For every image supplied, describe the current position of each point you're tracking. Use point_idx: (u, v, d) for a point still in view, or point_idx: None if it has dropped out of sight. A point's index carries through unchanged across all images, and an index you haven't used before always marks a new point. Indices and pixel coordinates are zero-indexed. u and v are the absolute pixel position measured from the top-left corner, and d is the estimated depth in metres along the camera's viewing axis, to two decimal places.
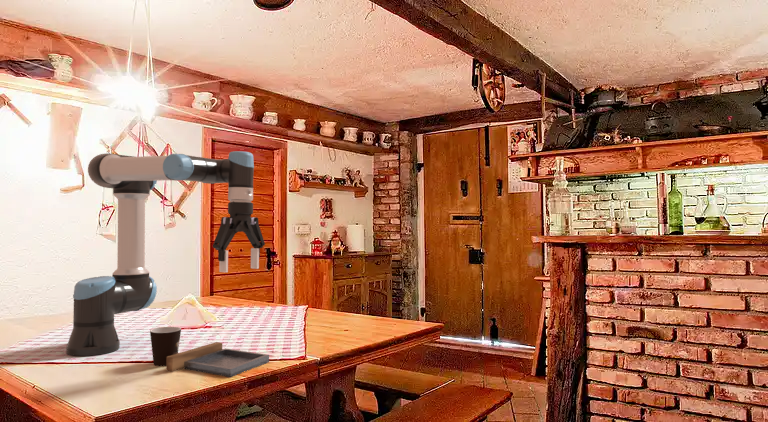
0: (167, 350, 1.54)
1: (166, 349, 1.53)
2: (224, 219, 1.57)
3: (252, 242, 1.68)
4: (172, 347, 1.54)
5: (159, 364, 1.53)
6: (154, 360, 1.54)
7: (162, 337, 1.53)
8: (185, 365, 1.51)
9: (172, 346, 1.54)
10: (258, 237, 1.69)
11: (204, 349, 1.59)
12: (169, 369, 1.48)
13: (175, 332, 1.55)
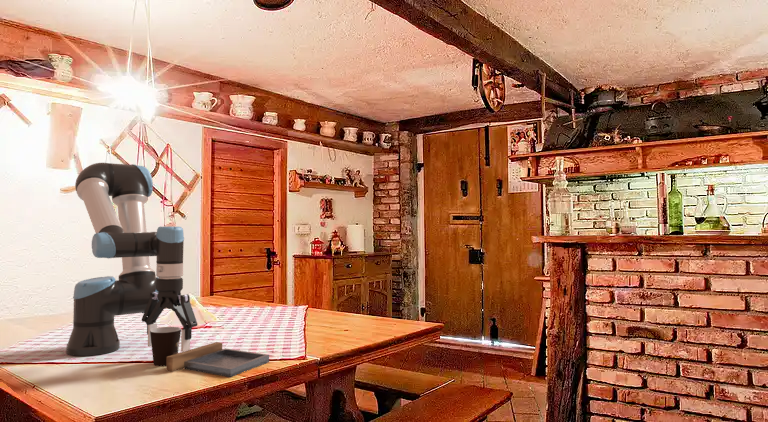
0: (167, 350, 1.54)
1: (166, 349, 1.53)
2: None
3: None
4: (172, 347, 1.54)
5: (159, 364, 1.53)
6: (154, 360, 1.54)
7: (162, 336, 1.53)
8: (185, 365, 1.51)
9: (172, 346, 1.54)
10: None
11: (204, 349, 1.59)
12: (169, 369, 1.48)
13: (175, 332, 1.55)
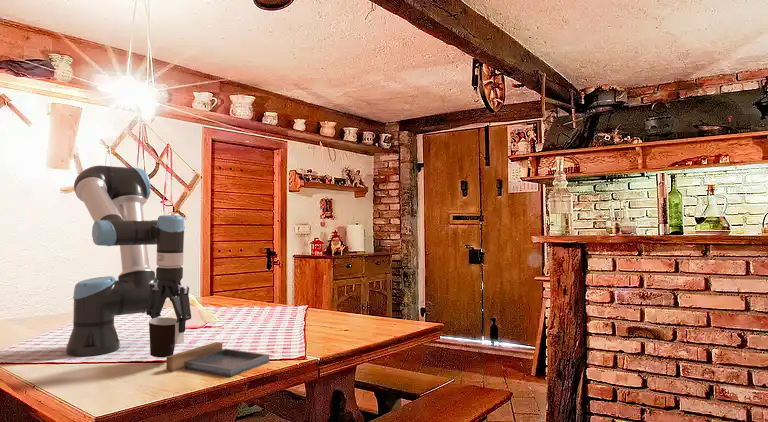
0: (165, 342, 1.54)
1: (164, 341, 1.54)
2: None
3: None
4: (169, 339, 1.55)
5: (156, 355, 1.55)
6: (151, 351, 1.55)
7: (160, 329, 1.53)
8: (185, 365, 1.51)
9: (170, 338, 1.55)
10: None
11: (204, 349, 1.59)
12: (169, 369, 1.48)
13: (174, 325, 1.55)
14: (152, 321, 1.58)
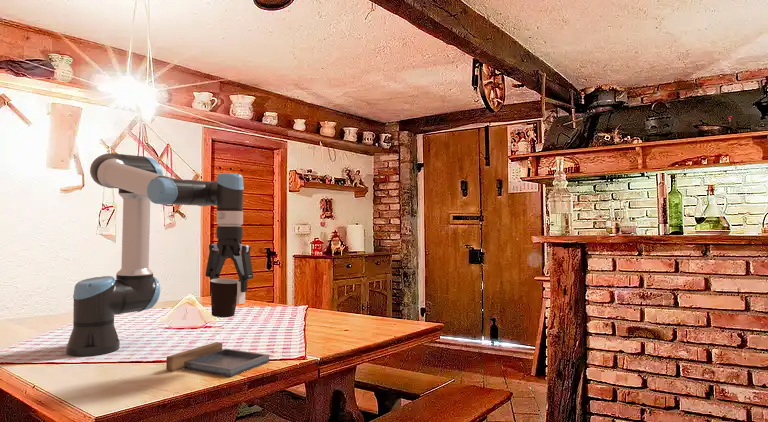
0: (227, 301, 1.51)
1: (226, 300, 1.51)
2: None
3: None
4: (231, 299, 1.52)
5: (218, 315, 1.51)
6: (213, 311, 1.51)
7: (223, 287, 1.50)
8: (185, 365, 1.51)
9: (232, 298, 1.52)
10: None
11: (204, 349, 1.59)
12: (169, 369, 1.48)
13: (236, 284, 1.52)
14: (212, 281, 1.55)
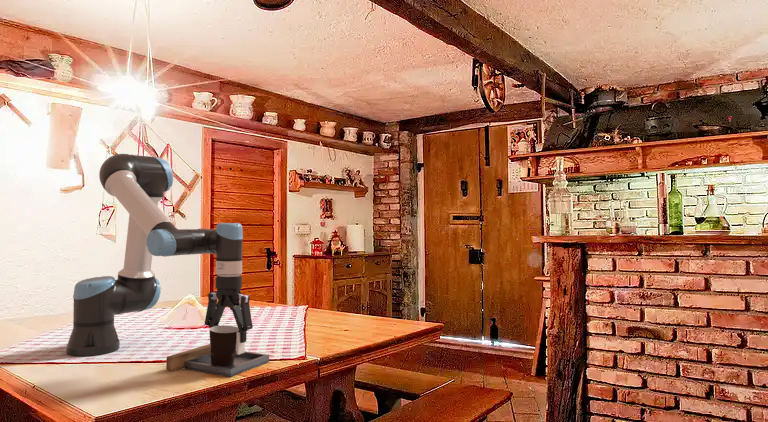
0: (226, 350, 1.51)
1: (225, 349, 1.51)
2: None
3: None
4: (231, 348, 1.51)
5: (217, 364, 1.51)
6: (213, 360, 1.51)
7: (222, 337, 1.50)
8: (185, 365, 1.51)
9: (231, 347, 1.52)
10: None
11: (204, 349, 1.59)
12: (169, 369, 1.48)
13: (235, 333, 1.52)
14: (212, 329, 1.54)
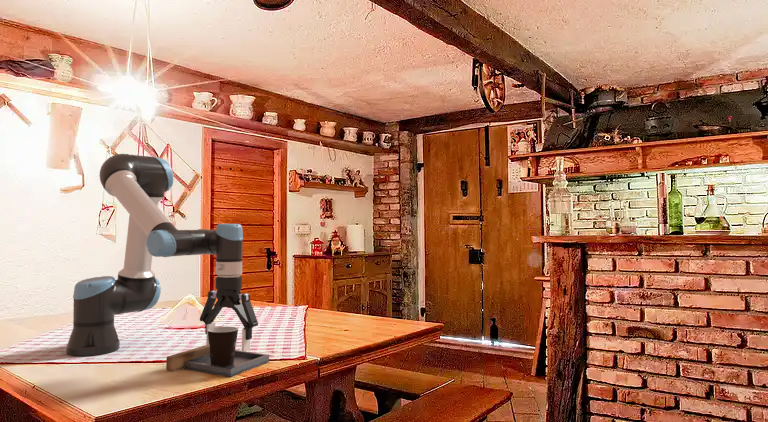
0: (225, 350, 1.51)
1: (224, 349, 1.51)
2: None
3: None
4: (230, 347, 1.52)
5: (217, 364, 1.51)
6: (212, 360, 1.51)
7: (220, 336, 1.50)
8: (185, 365, 1.51)
9: (230, 346, 1.52)
10: None
11: (204, 349, 1.59)
12: (169, 369, 1.48)
13: (233, 332, 1.52)
14: (210, 331, 1.55)
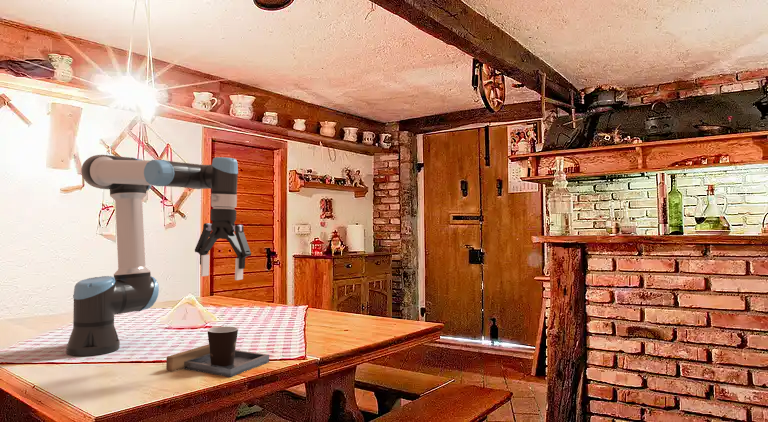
0: (225, 350, 1.51)
1: (224, 349, 1.51)
2: None
3: None
4: (230, 347, 1.52)
5: (217, 364, 1.51)
6: (212, 360, 1.51)
7: (220, 336, 1.50)
8: (185, 365, 1.51)
9: (230, 346, 1.52)
10: None
11: (204, 349, 1.59)
12: (169, 369, 1.48)
13: (233, 332, 1.52)
14: (210, 331, 1.55)
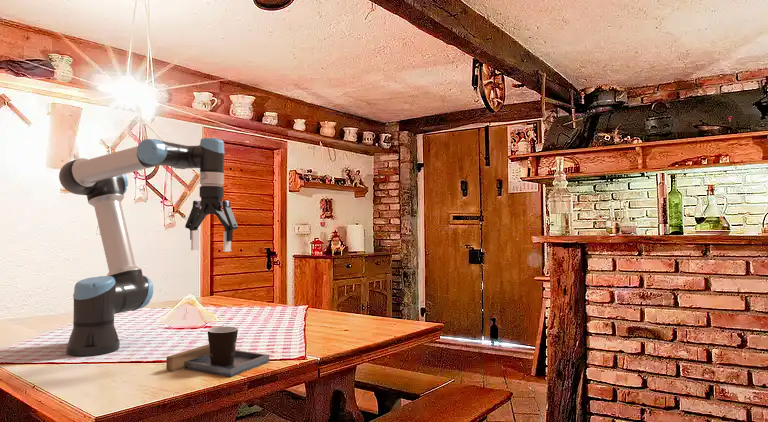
0: (225, 350, 1.51)
1: (224, 349, 1.51)
2: None
3: None
4: (230, 347, 1.52)
5: (217, 364, 1.51)
6: (212, 360, 1.51)
7: (220, 336, 1.50)
8: (185, 365, 1.51)
9: (230, 346, 1.52)
10: None
11: (204, 349, 1.59)
12: (169, 369, 1.48)
13: (233, 332, 1.52)
14: (210, 331, 1.55)
